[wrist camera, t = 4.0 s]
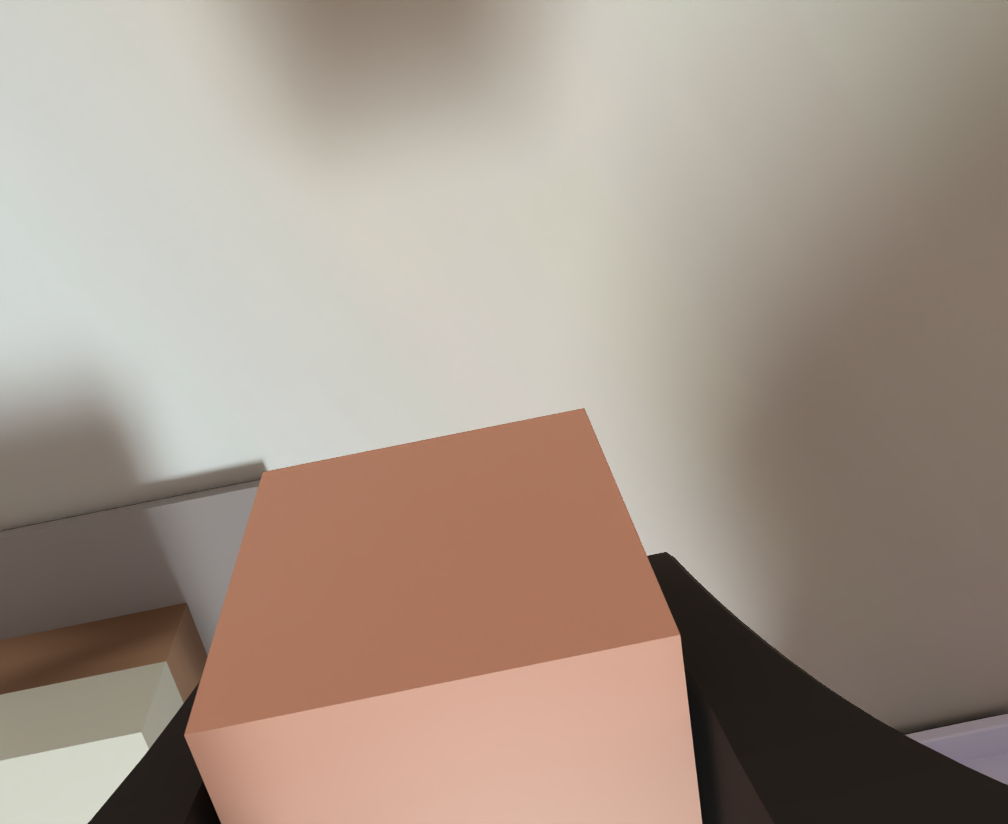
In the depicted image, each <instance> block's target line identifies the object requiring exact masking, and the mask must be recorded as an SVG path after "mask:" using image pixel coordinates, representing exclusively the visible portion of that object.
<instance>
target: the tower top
mask: <svg viewBox="0 0 1008 824" xmlns="http://www.w3.org/2000/svg"><path fill="white" fill-rule="evenodd" d="M182 705H183V700H182V698H181V696H180V693H179V691H178V688H177V686H176V684H175V681H174V679H173V676H172V674H171V672H170V669H169V667H168V664H167V662H166V661H165V662H160V663H155V664H150V665H145V666H140V667H135V668H130V669H125V670H120V671H115V672H111V673H106V674H101V675H96V676H91V677H86V678H81V679H76V680H71V681H66V682H61V683H56V684H51V685H46V686H41V687H36V688H31V689H26V690H21V691H16V692H11V693H6V694H2V695H0V824H88V822H89V821H90V820H91V819H92V818H93V817H94V815H95V814H96V813H97V812H98V811H99V809H100V808H101V807H102V806H103V805H104V803H105V802H106V801H107V800H108V799H109V797H110V796H111V795H112V794H113V793H114V791H115V790H116V789H117V788H118V787H119V785H120V784H121V783H122V782H123V781H124V779H125V778H126V777H127V776H128V775H129V773H130V772H131V771H132V770H133V769H134V767H135V766H136V765H137V764H138V763H139V761H140V760H141V759H142V758H143V756H144V755H145V754H146V753H147V751H148V750H149V749H150V747H151V746H152V745H153V743H154V742H155V741H156V739H157V738H158V737H159V736H160V734H161V733H162V732H163V730H164V729H165V728H166V726H167V725H168V724H169V722H170V721H171V720H172V718H173V717H174V716H175V714H176V713H177V712H178V710H179V709H180V708H181V706H182Z"/></svg>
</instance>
